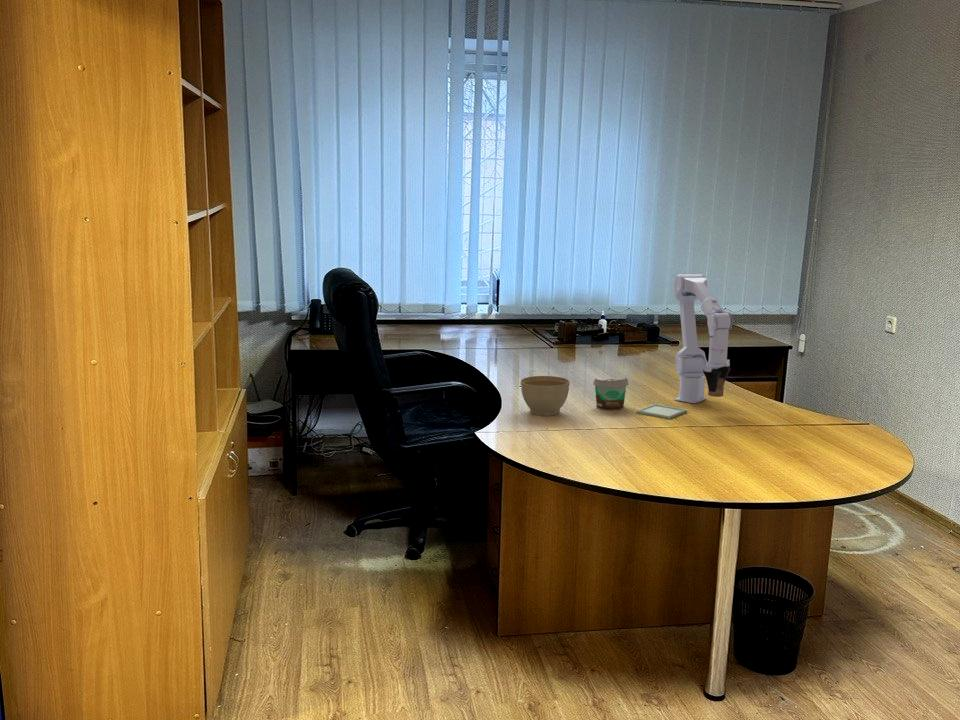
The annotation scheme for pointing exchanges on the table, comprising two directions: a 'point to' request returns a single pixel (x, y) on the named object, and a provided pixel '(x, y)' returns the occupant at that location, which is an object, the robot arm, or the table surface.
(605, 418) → the table surface
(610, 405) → the food container
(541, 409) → the planter bowl
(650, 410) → the coaster
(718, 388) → the walnut cylinder
